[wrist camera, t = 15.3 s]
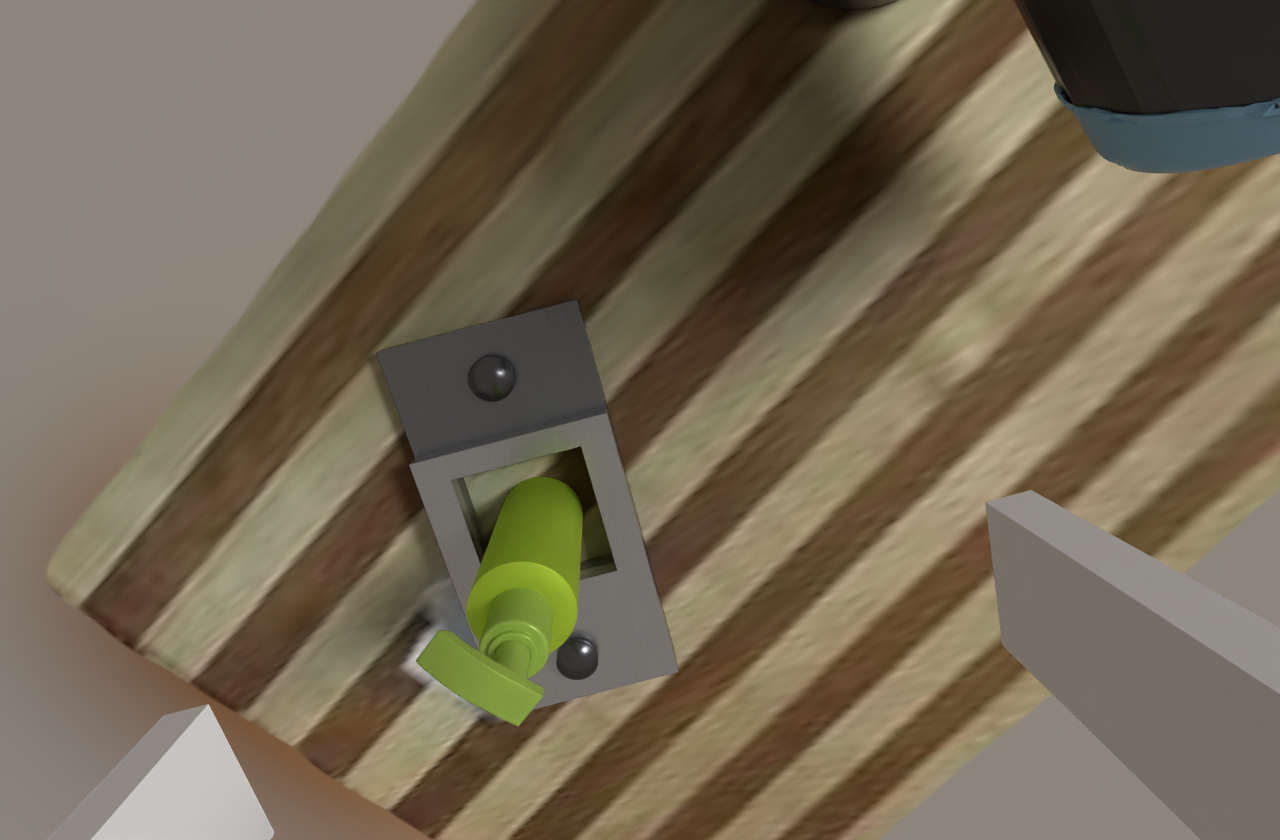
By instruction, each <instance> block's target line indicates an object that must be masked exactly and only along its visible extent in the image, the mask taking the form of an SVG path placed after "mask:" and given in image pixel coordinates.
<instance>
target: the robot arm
mask: <svg viewBox="0 0 1280 840" xmlns="http://www.w3.org/2000/svg"><path fill="white" fill-rule="evenodd" d="M811 1H813V2H816V3H818V4H822V5H825V6H829V7H834V8H840V9H865V8H872V7H877V6H881V5H884V4H887V3H890V2H893V1H895V0H811ZM1014 2H1015V4H1016V6H1017V8H1018V10H1019V12H1020V14H1021V16H1022V17H1023V19H1024V21H1025V23H1026V25H1027V27H1028V29H1029V31H1030V33H1031V35H1032V37H1033V39H1034V41H1035V43H1036V45H1037V46H1038V48H1039V50H1040V52H1041V54H1042V56H1043V58H1044V60H1045V62H1046V64H1047V66H1048V68H1049V70H1050V72H1051V74H1052V75H1053V77H1054V79H1055V81H1056V82H1055V85H1054V90H1055V93H1056V95H1057V97H1058V99H1059V100H1060V102H1061V103H1062V105H1064V106H1065V107H1066V108H1067V109H1069V110H1070V111H1071V112H1073V114H1074V115H1075V117H1076V119H1077V120H1078V122H1079V124H1080V125H1081V127H1082V129H1083V130H1084V132H1085V134H1086V135H1087V137H1088V139H1089V141H1090V142H1091V144H1092V146H1093V147H1094V148H1095V150H1096V151H1097V152H1098V153H1099V154H1100V155H1101V156H1102V157H1103V158H1104V159H1106V160H1107V161H1110V162H1113V163H1116V164H1118V165H1119V166H1123V167H1125V168H1126V169H1129V170H1132V171H1137V172H1146V173H1183V172H1193V171H1200V170H1206V169H1213V168H1219V167H1224V166H1229V165H1234V164H1238V163H1243V162H1248V161H1252V160H1256V159H1260V158H1263V157H1267V156H1271V155H1275V154H1279V153H1280V0H1014ZM985 503H986V511H987V520H988V528H989V537H990V545H991V554H992V562H993V571H994V579H995V587H996V596H997V604H998V613H999V621H1000V630H1001V638H1002V645H1003V646H1004V647H1005V648H1006V649H1007V650H1008V651H1009V652H1010V653H1011V654H1012V655H1013V656H1014V657H1015V658H1016V659H1017V660H1018V661H1019V662H1020V663H1021V664H1022V665H1023V666H1024V667H1025V668H1026V669H1027V670H1028V671H1029V672H1030V673H1031V674H1032V675H1033V676H1034V677H1036V678H1037V679H1038V680H1039V681H1040V682H1041V683H1042V684H1043V685H1044V686H1045V687H1046V688H1047V689H1048V690H1049V691H1050V692H1051V693H1052V694H1053V695H1054V696H1055V697H1056V698H1057V699H1058V700H1059V701H1060V702H1061V703H1062V704H1063V705H1064V706H1065V707H1066V708H1067V709H1068V710H1069V711H1070V712H1071V713H1072V714H1073V715H1074V716H1076V718H1077V719H1078V720H1079V721H1080V722H1082V724H1083V725H1085V726H1086V727H1087V728H1088V729H1089V730H1090V731H1091V732H1092V733H1093V734H1094V735H1095V736H1096V737H1097V738H1098V739H1099V740H1100V741H1101V742H1102V743H1103V744H1104V745H1105V746H1106V747H1107V748H1108V749H1109V750H1110V751H1111V752H1112V753H1113V754H1114V755H1115V756H1116V757H1117V758H1118V759H1119V760H1120V761H1121V762H1122V763H1123V764H1124V765H1125V766H1126V767H1127V768H1128V769H1129V770H1130V771H1131V772H1133V774H1135V775H1136V776H1137V777H1138V778H1139V779H1140V780H1141V781H1142V782H1143V783H1144V784H1145V785H1146V786H1147V787H1148V788H1149V789H1150V790H1151V791H1152V792H1153V793H1154V794H1155V795H1156V796H1157V797H1158V798H1159V799H1160V800H1161V801H1162V802H1163V803H1164V804H1165V805H1166V806H1167V807H1168V808H1169V809H1170V810H1171V811H1172V812H1173V813H1174V814H1175V815H1176V816H1177V817H1179V819H1180V820H1181V821H1183V822H1184V823H1185V824H1186V825H1187V826H1188V827H1189V828H1190V829H1191V830H1192V831H1193V832H1194V833H1195V834H1196V835H1197V836H1198V837H1199V838H1200V839H1201V840H1280V628H1278V627H1277V626H1275V625H1273V624H1271V623H1270V622H1268V621H1266V620H1264V619H1262V618H1260V617H1259V616H1257V615H1255V614H1253V613H1251V612H1250V611H1248V610H1246V609H1244V608H1242V607H1241V606H1239V605H1237V604H1235V603H1233V602H1231V601H1230V600H1228V599H1226V598H1224V597H1223V596H1221V595H1219V594H1217V593H1215V592H1214V591H1212V590H1210V589H1208V588H1206V587H1205V586H1203V585H1201V584H1199V583H1197V582H1196V581H1194V580H1192V579H1190V578H1188V577H1187V576H1185V575H1183V574H1181V573H1179V572H1178V571H1176V570H1174V569H1172V568H1170V567H1169V566H1167V565H1165V564H1163V563H1161V562H1160V561H1158V560H1156V559H1154V558H1152V557H1151V556H1149V555H1147V554H1145V553H1143V552H1142V551H1140V550H1138V549H1136V548H1134V547H1133V546H1131V545H1129V544H1127V543H1125V542H1124V541H1122V540H1120V539H1118V538H1116V537H1115V536H1113V535H1111V534H1109V533H1107V532H1106V531H1104V530H1102V529H1100V528H1098V527H1097V526H1095V525H1093V524H1091V523H1089V522H1088V521H1086V520H1084V519H1082V518H1080V517H1079V516H1077V515H1075V514H1073V513H1071V512H1070V511H1068V510H1066V509H1064V508H1062V507H1061V506H1059V505H1057V504H1055V503H1053V502H1052V501H1050V500H1048V499H1046V498H1044V497H1043V496H1041V495H1039V494H1037V493H1035V492H1034V491H1032V490H1030V491H1026V492H1022V493H1018V494H1015V495H1011V496H1007V497H1003V498H999V499H995V500H992V501H988V502H985ZM273 835H274V831H273V829H272V827H271V825H270V823H269V821H268V819H267V817H266V815H265V813H264V811H263V809H262V807H261V805H260V803H259V801H258V799H257V798H256V796H255V794H254V792H253V790H252V788H251V786H250V784H249V782H248V780H247V778H246V776H245V774H244V772H243V770H242V768H241V767H240V764H239V763H238V761H237V759H236V757H235V755H234V753H233V751H232V749H231V747H230V745H229V743H228V741H227V739H226V737H225V735H224V733H223V731H222V729H221V728H220V726H219V724H218V722H217V720H216V718H215V716H214V714H213V712H212V710H211V708H210V706H209V704H206V705H203V706H199V707H195V708H191V709H187V710H184V711H180V712H176V713H172V714H168V715H164V716H163V717H162V718H161V719H160V720H159V721H158V722H157V723H156V724H155V725H154V726H153V727H152V728H151V730H150V731H149V732H148V733H147V734H146V735H145V736H144V737H143V738H142V739H141V740H140V741H139V742H138V743H137V744H136V745H135V746H134V748H133V749H132V750H131V751H130V752H129V753H128V754H127V755H126V756H125V757H124V758H123V759H122V760H121V761H120V762H119V764H118V765H117V766H116V767H115V768H114V769H113V770H112V771H111V772H110V773H109V774H108V775H107V776H106V777H105V778H104V779H103V780H102V781H101V783H100V784H99V785H98V786H97V787H96V788H95V789H94V790H93V791H92V792H91V793H90V794H89V795H88V796H87V797H86V799H85V800H84V801H83V802H82V803H81V804H80V805H79V806H78V807H77V808H76V809H75V810H74V811H73V812H72V814H71V815H70V816H69V817H68V818H67V819H66V820H65V821H64V822H63V823H62V824H61V825H60V826H59V827H58V828H57V829H56V831H54V833H53V834H52V835H51V836H50V837H49V838H48V839H47V840H271V838H272V837H273Z"/></svg>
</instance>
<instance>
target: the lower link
mask: <svg viewBox="0 0 1280 840" xmlns="http://www.w3.org/2000/svg"><path fill="white" fill-rule="evenodd" d="M376 353H377V356H378V358H379V361H380V364H381V367H382V369H383V372H384V375H385V378H386V380H387V383H388V386H389V388H390V391H391V394H392V397H393V399H394V402H395V405H396V408H397V410H398V413H399V416H400V418H401V421H402V424H403V427H404V429H405V432H406V435H407V438H408V440H409V443H410V446H411V449H412V451H413V454H414V457H415V458H418V457H421V456H425V455H429V454H433V453H437V452H441V451H444V450H448V449H452V448H456V447H460V446H464V445H467V444H471V443H475V442H479V441H483V440H487V439H490V438H494V437H498V436H502V435H506V434H510V433H513V432H517V431H521V430H525V429H529V428H532V427H536V426H540V425H544V424H548V423H552V422H555V421H559V420H563V419H567V418H571V417H575V416H578V415H582V414H586V413H590V412H594V411H598V410H601V409H605V408H607V411H608V407H607V403H606V400H605V396H604V393H603V389H602V385H601V382H600V378H599V374H598V371H597V367H596V363H595V360H594V356H593V353H592V349H591V345H590V342H589V338H588V334H587V331H586V327H585V323H584V320H583V316H582V313H581V309H580V305H579V302H578V298H577V299H573V300H569V301H565V302H561V303H558V304H554V305H550V306H546V307H542V308H538V309H535V310H531V311H527V312H523V313H519V314H516V315H512V316H508V317H504V318H500V319H497V320H493V321H489V322H485V323H481V324H477V325H474V326H470V327H466V328H462V329H458V330H455V331H451V332H447V333H443V334H439V335H436V336H432V337H428V338H424V339H420V340H416V341H413V342H409V343H405V344H401V345H397V346H394V347H390V348H386V349H383V350H380V351H378V352H376ZM608 415H609V418H610V414H609V411H608ZM610 422H611V418H610ZM611 426H612V429H613V425H612V422H611ZM613 433H614V436H615V432H614V429H613ZM615 440H616V436H615ZM616 444H617V447H618V443H617V440H616ZM618 451H619V447H618ZM619 455H620V458H621V454H620V451H619ZM621 462H622V458H621ZM622 465H623V462H622ZM623 469H624V465H623ZM624 473H625V476H626V472H625V469H624ZM457 480H458V483H459V486H460V489H461V491H462V494H463V497H464V500H465V503H466V506H467V508H468V511H469V514H470V517H471V520H472V523H473V526H474V528H475V531H476V534H477V537H478V540H479V543H480V546H481V548H482V551H483V554H485V551H486V549H487V544H486V542H485V539H484V536H483V533H482V530H481V527H480V524H479V521H478V519H477V516H476V513H475V510H474V507H473V504H472V501H471V498H470V496H469V493H468V490H467V487H466V484H465V481H464V478H463V477H461V478H457ZM626 480H627V476H626ZM627 484H628V487H629V483H628V480H627ZM629 491H630V487H629ZM630 494H631V491H630ZM631 498H632V494H631ZM632 502H633V498H632ZM633 505H634V502H633ZM634 509H635V505H634ZM635 513H636V516H637V512H636V509H635ZM637 520H638V516H637ZM638 523H639V520H638ZM639 527H640V523H639ZM640 531H641V527H640ZM641 534H642V531H641ZM642 538H643V534H642ZM643 542H644V545H645V541H644V538H643ZM645 549H646V545H645ZM646 552H647V549H646ZM647 556H648V552H647ZM648 560H649V556H648ZM613 562H615V561H614V558H613V554H610V555H606V556H602V557H598V558H594V559H590V560H586V561H583V562H580V571H582V570H586V569H590V568H594V567H597V566H601V565H605V564H609V563H613ZM649 563H650V560H649ZM650 567H651V563H650ZM651 571H652V568H651Z"/></svg>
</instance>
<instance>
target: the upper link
mask: <svg viewBox="0 0 1280 840" xmlns="http://www.w3.org/2000/svg"><path fill="white" fill-rule="evenodd" d="M580 446H581V448H582V451H583V455H584V458H585V462H586V465H587V468H588V472H589V475H590V479H591V482H592V486H593V489H594V492H595V496H596V499H597V503H598V506H599V510H600V513H601V516H602V520H603V523H604V527H605V530H606V534H607V537H608V540H609V544H610V547H611V551H612V554H613V558H614V561H615V562H613V563H609V564H605V565H601V566H597V567H594V568H590V569H586V570H582V571H580V579H579V596H578V612H577V620H576V624H575V627H574V629H573V631H572V633H571V634H570V636H569V637H568V639H567V640H566V641H565V642H564V643H563V644H562V645H561V646H560V647H559V648H557V649H556V650H554V651H553V652H551V653H549V656H548V659H547V661H546V663H545V665H544V667H543V668H542V669H541V670H540V671H539V672H538V673H537V674H536V675H534V676H532V677H530V678H528V680H530V681H531V682H533V683H535V684H537V685H539V686H541V687H543V688H544V691H543V697H542V698H541V699H540V701H539V702H538V703H537V704H536V706H535V707H534V708H533V709H537V708H541V707H545V706H549V705H552V704H556V703H560V702H564V701H568V700H572V699H576V698H580V697H583V696H587V695H591V694H595V693H599V692H603V691H607V690H610V689H614V688H618V687H622V686H626V685H630V684H634V683H638V682H641V681H645V680H649V679H653V678H657V677H661V676H665V675H669V674H672V673H676V672H678V667H677V662H676V656H675V651H674V647H673V643H672V640H671V636H670V632H669V629H668V625H667V621H666V618H665V614H664V611H663V607H662V603H661V600H660V596H659V592H658V589H657V585H656V581H655V578H654V574H653V571H651V568H652V567H650V563H649V560H648V556H647V552H646V549H645V545H644V542H643V538H642V534H641V531H640V527H639V523H638V520H637V516H636V513H635V509H634V505H633V502H632V498H631V494H630V491H629V487H628V484H627V480H626V476H625V473H624V469H623V465H622V462H621V458H620V455H619V451H618V447H617V444H616V440H615V436H614V433H613V429H612V426H611V422H610V418H609V415H608V411H607V408H605V409H601V410H598V411H594V412H590V413H586V414H582V415H578V416H575V417H571V418H567V419H563V420H559V421H555V422H552V423H548V424H544V425H540V426H536V427H532V428H529V429H525V430H521V431H517V432H513V433H510V434H506V435H502V436H498V437H494V438H490V439H487V440H483V441H479V442H475V443H471V444H467V445H464V446H460V447H456V448H452V449H448V450H444V451H441V452H437V453H433V454H429V455H425V456H421V457H418V458H415V459H414V460H413V461H412V462H411V463H410V464H409V466H410V468H411V471H412V474H413V477H414V479H415V482H416V485H417V487H418V490H419V493H420V495H421V498H422V501H423V504H424V506H425V509H426V512H427V514H428V517H429V520H430V522H431V525H432V528H433V531H434V533H435V536H436V539H437V541H438V544H439V547H440V550H441V552H442V555H443V558H444V560H445V563H446V566H447V568H448V571H449V574H450V577H451V579H452V582H453V585H454V587H455V590H456V593H457V596H458V598H459V601H460V604H461V606H462V609H463V612H464V614H465V617H466V620H467V623H468V619H467V611H466V610H467V601H468V597H469V594H470V591H471V589H472V586H473V583H474V581H475V578H476V575H477V573H478V570H479V567H480V565H481V562H482V559H483V557H484V554H483V551H482V548H481V546H480V543H479V540H478V537H477V534H476V531H475V528H474V526H473V523H472V520H471V517H470V514H469V511H468V508H467V506H466V503H465V500H464V497H463V494H462V491H461V489H460V486H459V483H458V480H457V478H461V477H465V476H469V475H473V474H477V473H480V472H484V471H488V470H492V469H496V468H500V467H503V466H507V465H511V464H515V463H519V462H523V461H526V460H530V459H534V458H538V457H542V456H546V455H549V454H553V453H557V452H561V451H565V450H569V449H572V448H576V447H580ZM468 625H469V623H468ZM469 628H470V626H469ZM470 631H471V633H472V636H473V639H474V641H475V644H476V647H477V650H478V652H479V643H480V642H479V641H478V639H477V638H476V637H475V635H474V634H473V632H472V630H471V628H470ZM533 709H532V710H533Z"/></svg>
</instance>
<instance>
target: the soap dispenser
mask: <svg viewBox="0 0 1280 840" xmlns="http://www.w3.org/2000/svg"><path fill="white" fill-rule="evenodd" d="M582 528H583V508H582V504H581V501H580V499H579V497H578V496H577V494H576V493H575V492H574V490H573V489H572V488H570V487H569V486H568V485H567V484H565V483H563V482H562V481H559V480H557V479H554V478H549V477H535V478H531V479H527V480H525V481H523V482H521V483H519V484H518V485H516V486H515V487H514V488H513V489H512V490H511V491H510V492H509V494H508V495H507V497H506V499H505V501H504V504H503V506H502V509H501V512H500V514H499V517H498V519H497V522H496V525H495V527H494V530H493V533H492V535H491V538H490V541H489V543H488V546H487V549H486V551H485V554H484V557H483V559H482V562H481V565H480V567H479V570H478V573H477V575H476V578H475V581H474V583H473V586H472V589H471V591H470V594H469V597H468V601H467V610H466V611H467V619H468V623H469V626H470V628H471V630H472V632H473V634H474V635H475V637H476V638H477V639H478V641H479V642H480V643H479V652H478V651H477V650H475V649H474V648H472V647H471V646H469V645H468V644H467V643H465V642H464V641H463V640H461V639H460V638H459V637H457V636H456V635H455V634H454V633H452V632H451V631H449V630H440V631H438V632H437V634H436V635H435V636H434V637H433V639H432V640H431V641H430V643H429V644H428V645H427V646H426V648H425V649H424V650H423V652H422V653H421V654H420V656H419V657H418V658H417V660H416V662H417V663H418V664H419V665H420V666H421V667H422V668H423V669H424V670H425V671H426V672H428V673H429V674H430V675H431V676H432V677H434V678H435V679H436V680H437V681H439V682H440V683H441V684H443V685H444V686H445V687H447V688H448V689H450V690H451V691H453V692H454V693H456V694H457V695H459V696H460V697H462V698H464V699H465V700H467V701H469V702H470V703H472V704H474V705H476V706H478V707H480V708H481V709H483V710H485V711H487V712H489V713H491V714H493V715H495V716H497V717H499V718H501V719H503V720H505V721H507V722H510V723H512V724H514V725H516V726H519V725H520V724H521V723H522V721H523V720H524V719H525V718H526V716H527V715H528V714H529V713H530V712H531V710H532V709H533V708H534V707H535V706H536V704H537V703H538V702H539V701H540V699H541V698H542V697H543V691H544V688H543V687H541V686H539V685H537V684H535V683H533V682H531V681H530V680H528V678H530V677H532V676H534V675H536V674H537V673H538V672H539V671H540V670H541V669H542V668H543V667H544V665H545V663H546V661H547V659H548V656H549V653H551V652H553V651H554V650H556V649H557V648H559V647H560V646H561V645H562V644H563V643H564V642H565V641H566V640H567V639H568V637H569V636H570V634H571V633H572V631H573V629H574V627H575V624H576V620H577V612H578V596H579V579H580V562H581V545H582Z"/></svg>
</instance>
